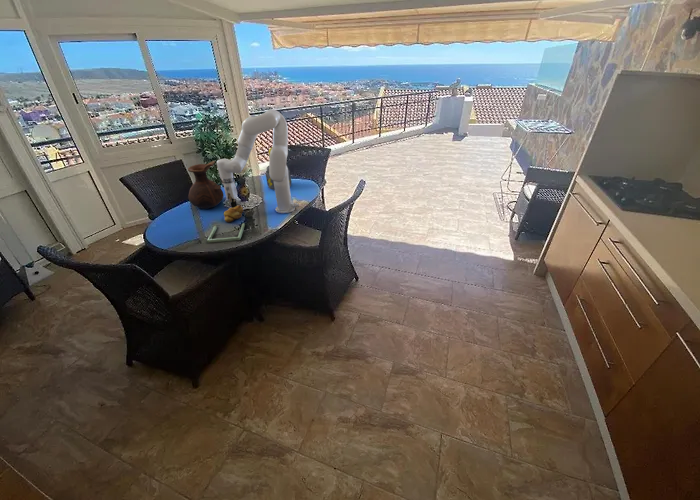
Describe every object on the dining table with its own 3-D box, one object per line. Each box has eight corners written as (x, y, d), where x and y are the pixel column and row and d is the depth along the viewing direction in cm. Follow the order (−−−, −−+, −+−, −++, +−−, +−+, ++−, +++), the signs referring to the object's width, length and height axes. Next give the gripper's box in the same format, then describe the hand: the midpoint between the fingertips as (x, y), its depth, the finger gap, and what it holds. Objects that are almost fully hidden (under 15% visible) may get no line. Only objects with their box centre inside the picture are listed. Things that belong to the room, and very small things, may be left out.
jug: (198, 215, 189) (182, 169, 173) (187, 205, 203) (172, 161, 186) (231, 205, 201) (219, 161, 185) (219, 196, 215) (207, 154, 198)
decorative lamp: (297, 184, 232) (292, 145, 215) (280, 192, 219) (274, 151, 202) (279, 180, 240) (273, 142, 224) (262, 188, 227) (254, 148, 210)
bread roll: (230, 225, 177) (227, 213, 172) (219, 221, 181) (216, 209, 176) (246, 216, 186) (243, 204, 182) (235, 213, 190) (232, 202, 186)
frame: (245, 225, 176) (244, 223, 175) (240, 239, 162) (239, 237, 161) (215, 227, 174) (214, 225, 173) (207, 242, 160) (206, 240, 159)
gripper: (231, 183, 174) (238, 211, 184) (236, 175, 186) (242, 202, 196) (218, 184, 173) (226, 212, 183) (224, 176, 185) (230, 203, 195)
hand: (234, 207), depth 190 cm, fingers closed
